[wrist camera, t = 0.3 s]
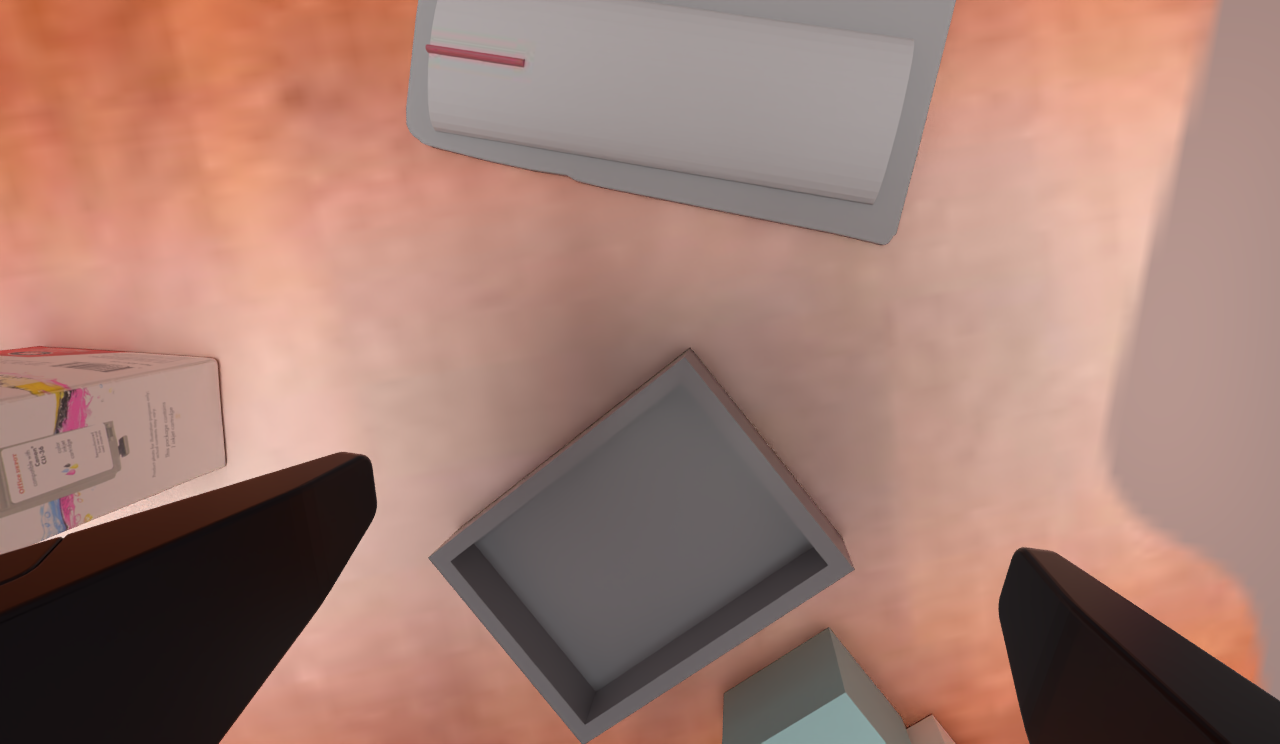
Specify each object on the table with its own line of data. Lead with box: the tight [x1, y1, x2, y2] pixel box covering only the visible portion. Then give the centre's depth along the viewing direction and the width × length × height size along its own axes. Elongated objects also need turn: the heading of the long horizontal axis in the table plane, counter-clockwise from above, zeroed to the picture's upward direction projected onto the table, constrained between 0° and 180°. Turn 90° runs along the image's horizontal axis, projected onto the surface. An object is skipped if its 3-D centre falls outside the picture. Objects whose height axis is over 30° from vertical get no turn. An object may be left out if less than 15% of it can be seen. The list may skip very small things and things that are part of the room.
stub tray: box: [428, 348, 855, 744], centre depth 24 cm, size 12×9×2 cm
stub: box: [722, 627, 911, 744], centre depth 23 cm, size 5×4×4 cm
